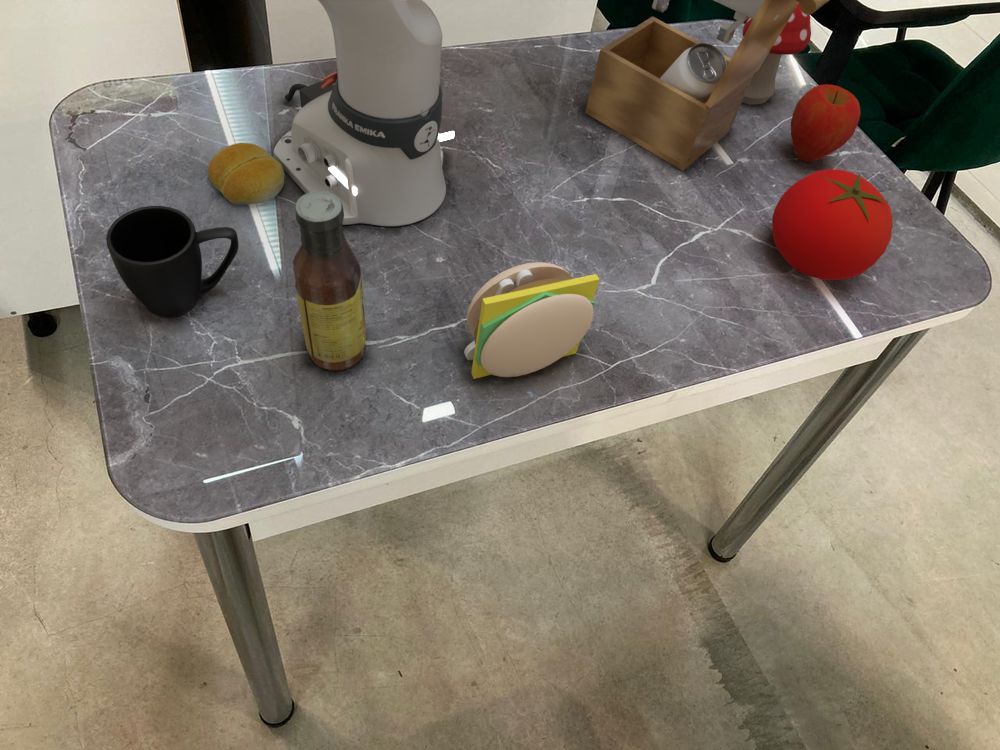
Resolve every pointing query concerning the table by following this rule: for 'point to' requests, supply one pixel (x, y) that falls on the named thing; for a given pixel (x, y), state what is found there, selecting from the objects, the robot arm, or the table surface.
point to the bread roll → (246, 174)
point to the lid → (758, 43)
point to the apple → (823, 121)
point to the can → (697, 71)
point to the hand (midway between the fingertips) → (691, 24)
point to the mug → (164, 258)
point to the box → (657, 96)
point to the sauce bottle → (328, 284)
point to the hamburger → (528, 319)
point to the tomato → (832, 225)
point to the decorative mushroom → (778, 56)
